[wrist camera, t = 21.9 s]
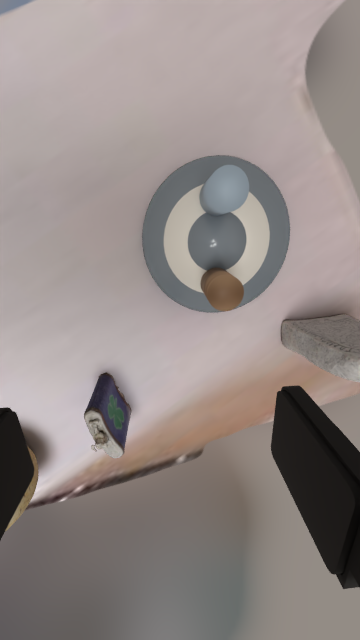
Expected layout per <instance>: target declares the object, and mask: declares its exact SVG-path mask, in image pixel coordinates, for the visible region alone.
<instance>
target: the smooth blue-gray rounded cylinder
mask: <svg viewBox="0 0 360 640" xmlns="http://www.w3.org/2000/svg"><path fill="white" fill-rule="evenodd" d="M248 193H249V181H248V178H247V176H246V174H245V172H244V171H243V170H242V169H241V168H239V167H237V166H235V165H224V166H222V167H220V168H218V169H217V170H216V171H215V172H214V173H213V174H212V175H211V176H210V177H209V179H208V180H207V181H206V182H205V184H204V185H203V186H202V188H201V191H200V195H199V199H200V204H201V207H202V208H203V210H204V211H205V212H206V213H208V214H209V215H212V216H219V215H223V214H226V213H229V212H232V211H235V210H237V209H238V208H240V207H241V206H242V205H243V204H244V202H245V201H246V199H247V196H248Z"/></svg>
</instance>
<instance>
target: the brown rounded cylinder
mask: <svg viewBox="0 0 360 640" xmlns="http://www.w3.org/2000/svg"><path fill="white" fill-rule="evenodd" d="M200 285H201V289H202V291H203V293H204V295H205V296H206V298H207V299H208V301H209V303H210V304H211V305H212V307H214V308H215V309H217V310H219V311H230V310H232V309H234V308H236V307H237V306H238V305H239V304H240V303H241V301H242V299H243V296H244V288H243V285H242V283H241V282H240V280H238V279H237V278H236V277H234V276H233V275H231V274H230V273H228V272H227V271H226V270H224V269H222V268H211V269H209V270H208V271H206V272H205V273H204V274H203V276H202V278H201V283H200Z"/></svg>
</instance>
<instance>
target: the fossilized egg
mask: <svg viewBox="0 0 360 640" xmlns="http://www.w3.org/2000/svg"><path fill="white" fill-rule="evenodd" d="M27 447H28V446H27ZM28 450H29V453H30V456H31V459H32V462H33V465H34V476H33V479H32V481H31V483H30V485H29V487H28V488H27V490H26V492H25V494H24V496H23V498H22V500H21V502H20V504H19V506H18V508H17V509H16V511H15V513H14V515H13V517H12V519H11V521H10V523H9V525H8V527H7V528H6V530H7V529H8V528H9V527H10V526H11V525H12V524H13V523H14V522H15V521H16V520H17V519H18V518H19V517H20V516H21V514H22V513H23V512H24V510H25V509H26V507H27V506H28V504H29V502H30V500H31V499H32V497H33V494H34V492H35V489H36V485H37V481H38V464H37V460H36V457H35V455H34V453H33V452H32V450H31V449H30V448H29V447H28ZM6 530H5V531H6Z"/></svg>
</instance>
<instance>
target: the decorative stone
mask: <svg viewBox="0 0 360 640" xmlns="http://www.w3.org/2000/svg"><path fill="white" fill-rule="evenodd" d="M281 336H282V343H283V345H284V346H285V347H286V348H288V349H290V350H292V351H294V352H297V353H298V354H300V355H302V356H304V357H305V358H306V359H308V360H309V361H310V362H312V363H313V364H315V365H316V366H318V367H319V368H321V369H323V370H325V371H327V372H329V373H331V374H333V375H335V376H338V377H341V378H344V379H347V380H351V381H355V382H360V321H359V320H357V319H355V318H353V317H352V316H349V315H347V314H341V315H336V316H331V317H324V318H315V319H308V320H290V321H283V323H282V333H281Z"/></svg>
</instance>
